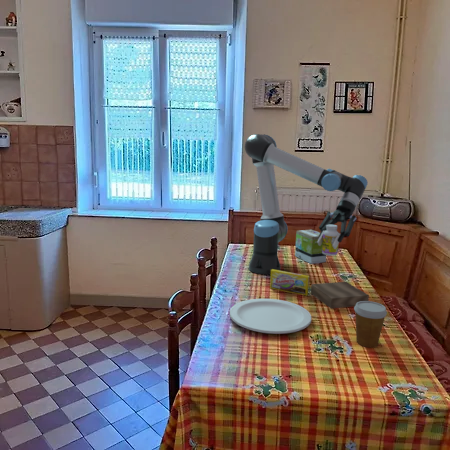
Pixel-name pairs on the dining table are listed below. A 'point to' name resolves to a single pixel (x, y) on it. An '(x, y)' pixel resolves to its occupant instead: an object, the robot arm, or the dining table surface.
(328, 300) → the walnut stand
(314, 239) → the tea box
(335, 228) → the supplement bottle
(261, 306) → the plate
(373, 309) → the disposable coffee cup
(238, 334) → the dining table surface
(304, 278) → the candy box
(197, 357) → the dining table surface
